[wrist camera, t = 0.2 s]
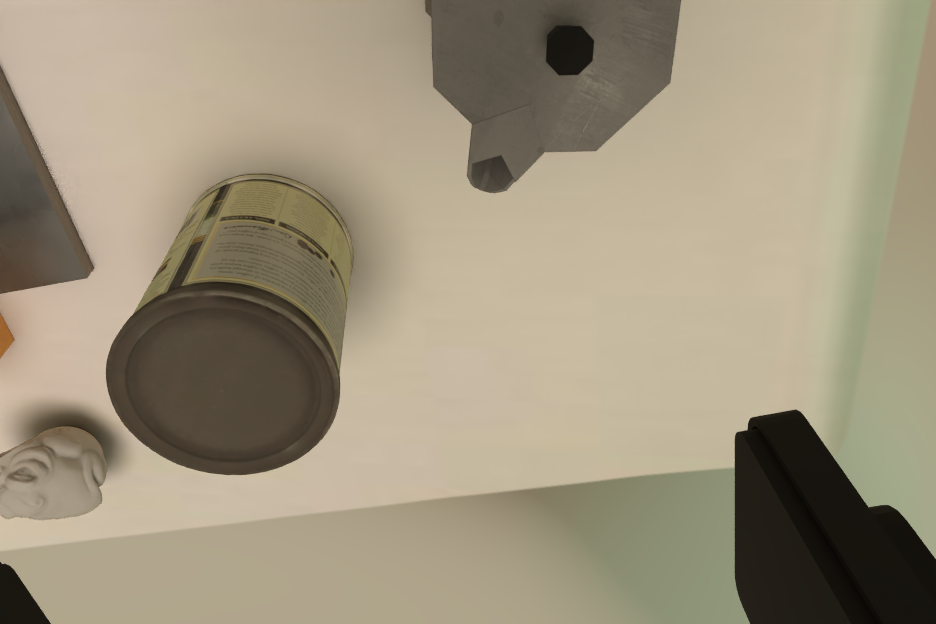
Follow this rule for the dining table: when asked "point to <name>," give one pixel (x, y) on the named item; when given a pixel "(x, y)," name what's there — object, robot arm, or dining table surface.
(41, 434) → the plaster head sculpture
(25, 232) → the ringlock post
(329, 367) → the coffee can
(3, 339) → the orange rectangular block
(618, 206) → the dining table surface
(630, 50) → the coffeepot
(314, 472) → the dining table surface
